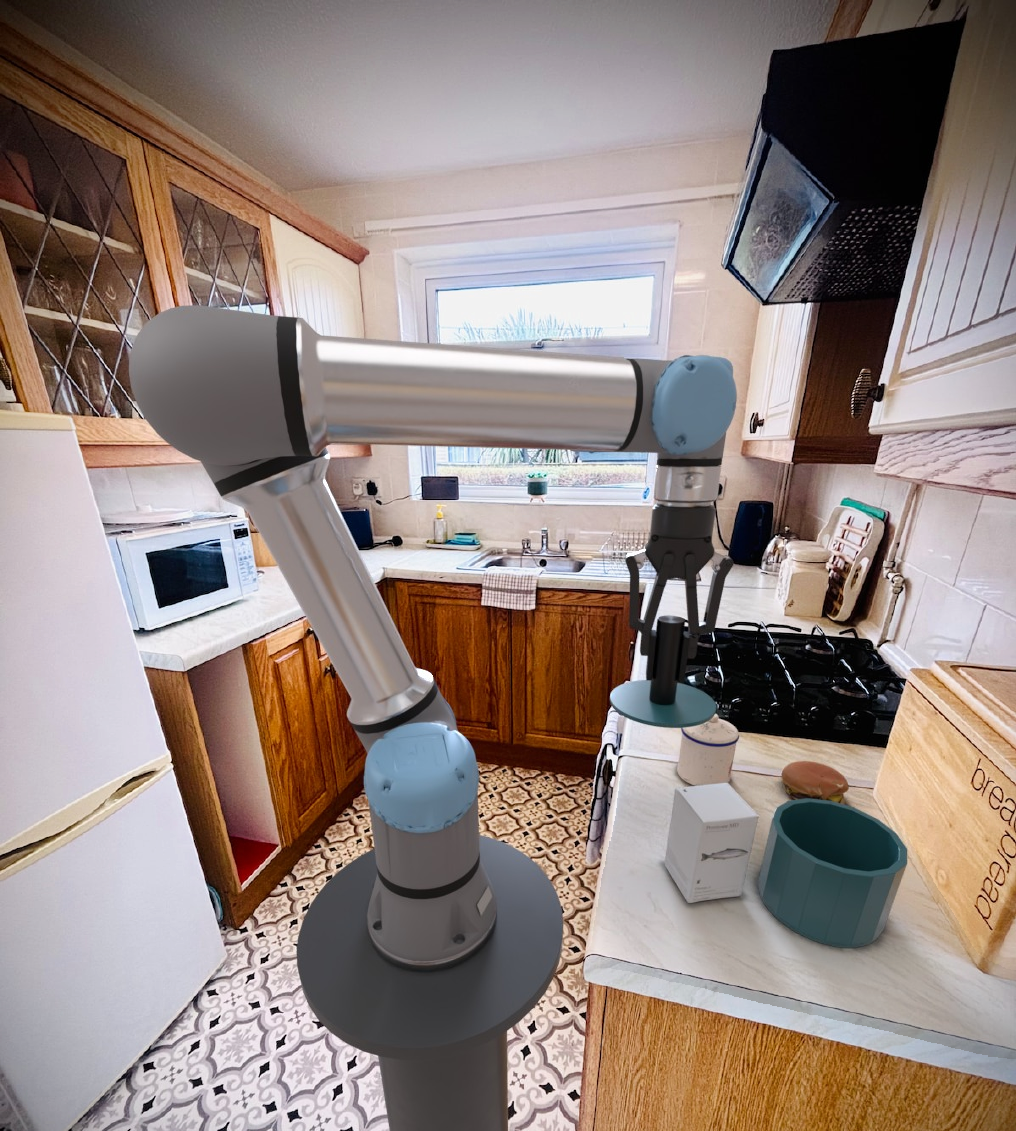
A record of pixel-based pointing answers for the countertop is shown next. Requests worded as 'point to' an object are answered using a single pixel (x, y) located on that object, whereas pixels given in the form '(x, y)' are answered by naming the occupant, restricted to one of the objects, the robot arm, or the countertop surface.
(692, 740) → the teacup with lid
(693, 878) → the white packaging box
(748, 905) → the countertop surface
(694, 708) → the tin lid
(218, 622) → the countertop surface
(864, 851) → the tin
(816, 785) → the burger
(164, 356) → the robot arm
